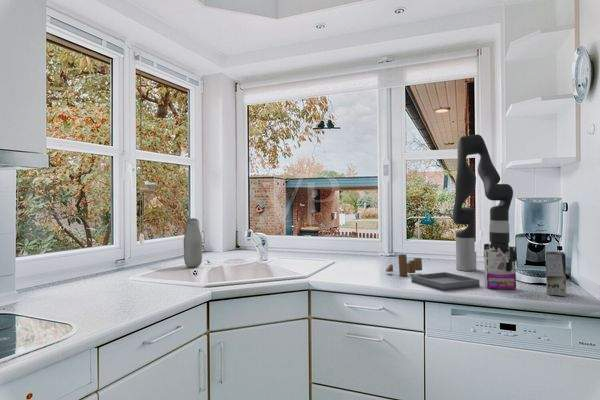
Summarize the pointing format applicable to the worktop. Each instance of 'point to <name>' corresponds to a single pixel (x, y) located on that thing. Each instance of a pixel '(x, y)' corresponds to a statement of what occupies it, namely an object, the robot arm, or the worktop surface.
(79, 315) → the worktop surface
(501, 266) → the candy bar box
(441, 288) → the tray
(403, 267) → the wooden block set
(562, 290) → the coffee box
